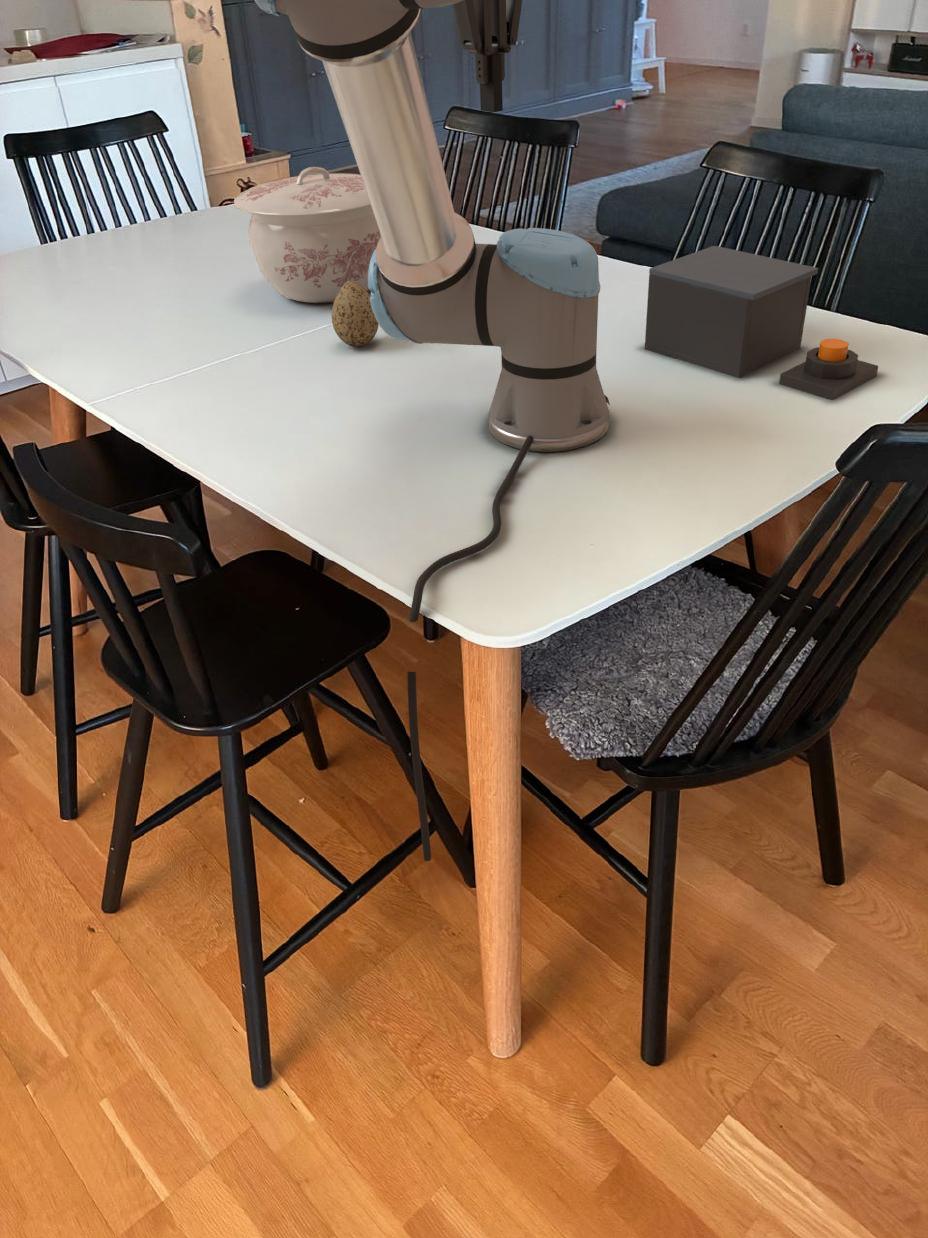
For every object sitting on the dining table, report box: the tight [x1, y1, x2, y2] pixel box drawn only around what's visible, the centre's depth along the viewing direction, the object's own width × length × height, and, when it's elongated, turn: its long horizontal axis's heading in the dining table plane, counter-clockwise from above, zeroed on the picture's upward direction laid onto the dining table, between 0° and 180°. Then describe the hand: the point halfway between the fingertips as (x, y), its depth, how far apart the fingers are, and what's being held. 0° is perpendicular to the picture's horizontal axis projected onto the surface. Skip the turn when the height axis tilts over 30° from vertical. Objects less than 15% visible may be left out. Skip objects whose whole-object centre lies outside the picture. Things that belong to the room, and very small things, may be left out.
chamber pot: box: [233, 166, 381, 304], centre depth 168 cm, size 28×28×21 cm
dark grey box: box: [644, 274, 813, 379], centre depth 140 cm, size 17×15×11 cm
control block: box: [778, 346, 879, 401], centre depth 131 cm, size 8×11×4 cm
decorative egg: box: [331, 281, 380, 348], centre depth 149 cm, size 7×7×10 cm
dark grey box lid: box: [648, 245, 819, 300], centre depth 136 cm, size 18×15×1 cm
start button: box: [818, 338, 850, 361], centre depth 130 cm, size 4×4×2 cm
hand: (491, 110), depth 129 cm, fingers closed
